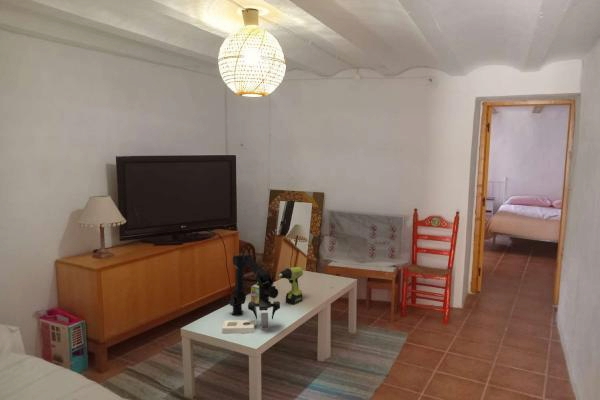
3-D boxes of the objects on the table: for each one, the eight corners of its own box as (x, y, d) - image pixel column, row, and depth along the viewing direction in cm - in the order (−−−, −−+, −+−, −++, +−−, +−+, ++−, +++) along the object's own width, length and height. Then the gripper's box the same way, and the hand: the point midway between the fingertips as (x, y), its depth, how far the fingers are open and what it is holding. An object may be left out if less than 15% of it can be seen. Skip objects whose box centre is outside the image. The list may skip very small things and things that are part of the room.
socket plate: (225, 325, 265) (225, 320, 264) (255, 324, 265) (255, 319, 265) (222, 333, 253) (222, 328, 252) (253, 332, 253) (253, 327, 253)
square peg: (261, 325, 263) (261, 312, 262) (268, 325, 263) (268, 312, 262) (261, 328, 259) (260, 315, 258) (268, 328, 259) (267, 315, 258)
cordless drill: (283, 309, 288) (282, 272, 285) (275, 307, 292) (274, 271, 289) (304, 299, 306) (304, 264, 303) (296, 297, 310) (296, 263, 307)
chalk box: (250, 302, 302) (250, 282, 300) (258, 298, 310) (257, 278, 308) (262, 304, 297) (261, 283, 296) (269, 300, 306) (268, 280, 304)
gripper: (246, 299, 250) (247, 325, 252) (279, 298, 251) (279, 324, 253) (248, 292, 262) (249, 317, 263) (279, 291, 262) (280, 316, 264)
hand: (264, 319), depth 261 cm, fingers open, 9 cm apart
